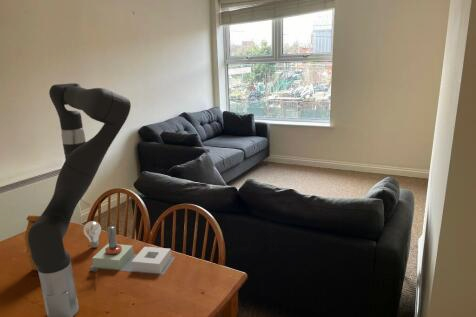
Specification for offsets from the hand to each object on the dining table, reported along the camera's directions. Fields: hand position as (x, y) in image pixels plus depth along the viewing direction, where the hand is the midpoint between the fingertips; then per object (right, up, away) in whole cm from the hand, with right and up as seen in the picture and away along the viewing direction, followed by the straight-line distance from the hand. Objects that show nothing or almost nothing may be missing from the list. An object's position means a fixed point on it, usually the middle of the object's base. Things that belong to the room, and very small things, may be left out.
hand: (80, 183), depth 135 cm
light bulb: (-4, -29, +23) cm, 37 cm away
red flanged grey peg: (+9, -31, +9) cm, 34 cm away
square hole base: (+17, -33, +8) cm, 38 cm away
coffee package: (-15, -34, +8) cm, 38 cm away
